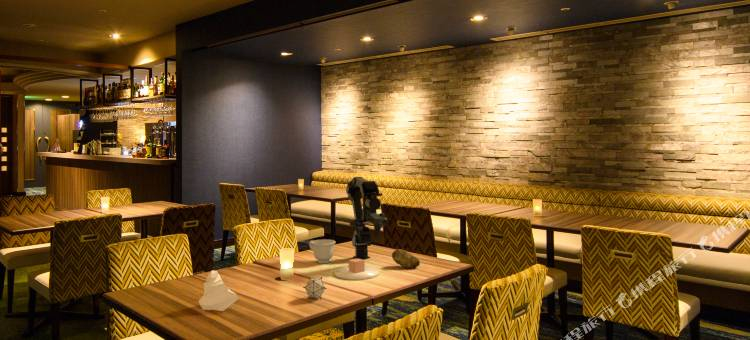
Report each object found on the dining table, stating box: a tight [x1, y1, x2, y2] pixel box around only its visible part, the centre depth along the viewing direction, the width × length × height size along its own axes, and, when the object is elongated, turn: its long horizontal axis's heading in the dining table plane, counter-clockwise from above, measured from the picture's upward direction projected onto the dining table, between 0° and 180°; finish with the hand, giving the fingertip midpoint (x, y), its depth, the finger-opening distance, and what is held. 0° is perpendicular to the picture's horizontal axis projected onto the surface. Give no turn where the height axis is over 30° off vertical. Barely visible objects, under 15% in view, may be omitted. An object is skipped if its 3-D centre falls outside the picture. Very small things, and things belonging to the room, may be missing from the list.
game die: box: [302, 276, 328, 300], centre depth 207 cm, size 9×8×10 cm
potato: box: [391, 248, 421, 269], centre depth 254 cm, size 8×13×8 cm, turn 49°
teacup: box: [308, 238, 336, 264], centre depth 265 cm, size 12×15×10 cm
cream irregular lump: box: [198, 270, 239, 312], centre depth 198 cm, size 12×15×14 cm
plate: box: [333, 265, 380, 281], centre depth 242 cm, size 20×20×1 cm
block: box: [348, 258, 366, 273], centre depth 242 cm, size 5×5×5 cm
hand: (368, 239), depth 260 cm, fingers open, 9 cm apart
